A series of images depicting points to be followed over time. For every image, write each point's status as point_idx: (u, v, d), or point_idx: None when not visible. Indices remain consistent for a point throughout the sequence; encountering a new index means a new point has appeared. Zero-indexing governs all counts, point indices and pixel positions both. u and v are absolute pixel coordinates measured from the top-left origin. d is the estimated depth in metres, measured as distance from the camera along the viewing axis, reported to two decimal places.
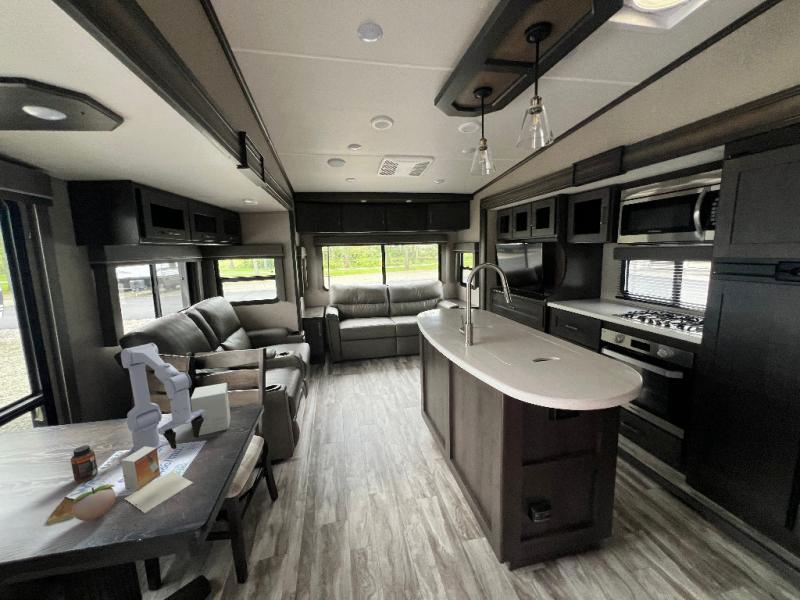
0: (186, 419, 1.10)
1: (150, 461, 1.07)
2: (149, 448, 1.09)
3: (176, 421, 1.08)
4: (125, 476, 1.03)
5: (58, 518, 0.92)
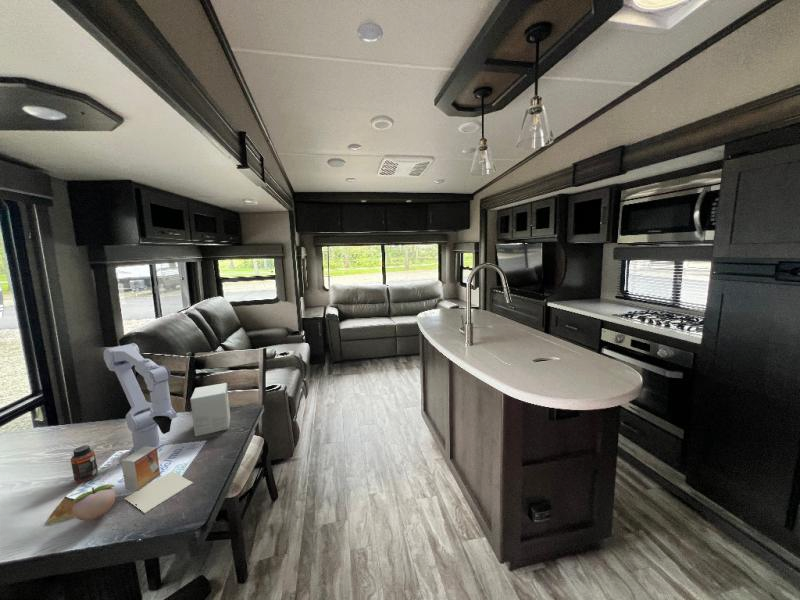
0: (153, 412, 1.15)
1: (150, 461, 1.07)
2: (149, 448, 1.09)
3: None
4: (125, 476, 1.03)
5: (58, 518, 0.92)
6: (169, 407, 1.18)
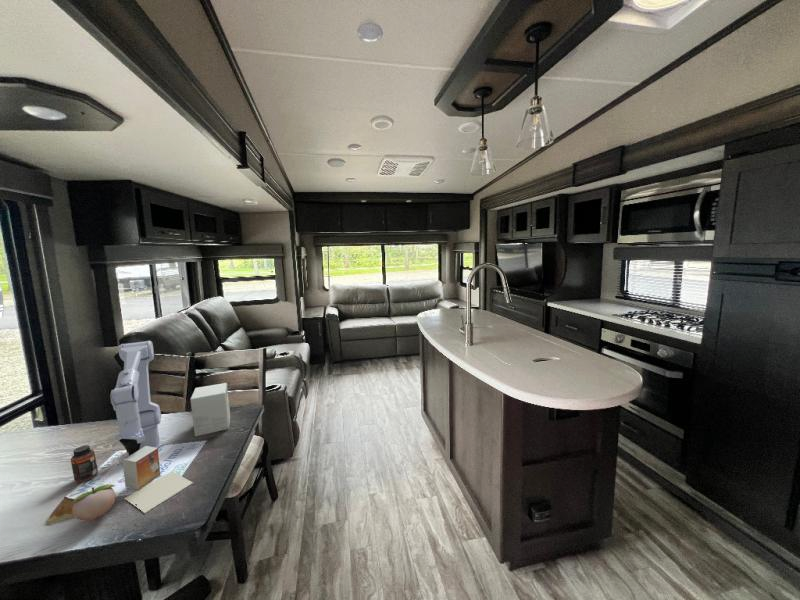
0: (120, 434, 1.04)
1: (151, 461, 1.07)
2: (150, 448, 1.09)
3: None
4: (126, 475, 1.03)
5: (58, 518, 0.91)
6: (138, 429, 1.06)
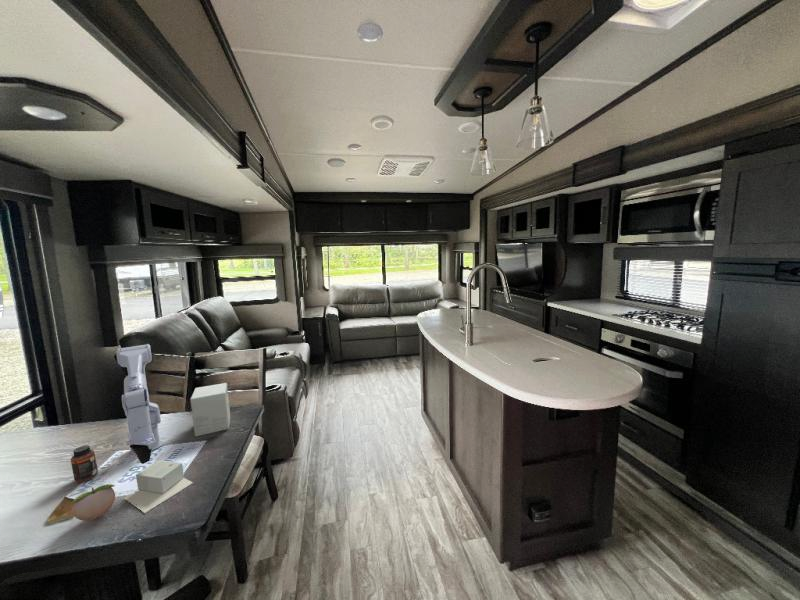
0: (130, 439, 1.01)
1: None
2: (181, 473, 1.07)
3: None
4: (146, 479, 1.01)
5: (58, 518, 0.91)
6: (149, 434, 1.03)
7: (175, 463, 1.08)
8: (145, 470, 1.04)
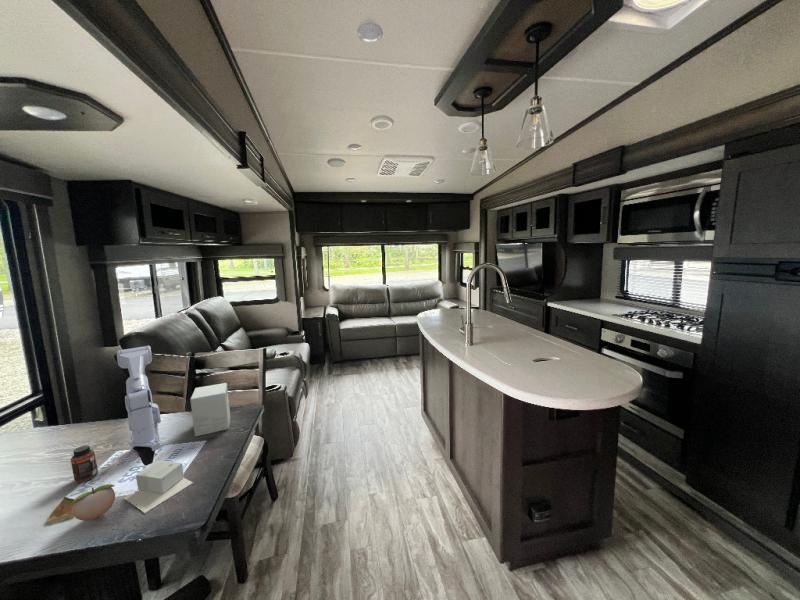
0: (134, 441, 1.00)
1: None
2: (181, 473, 1.07)
3: None
4: (146, 479, 1.01)
5: (58, 518, 0.91)
6: (152, 436, 1.02)
7: (175, 463, 1.07)
8: (144, 470, 1.04)
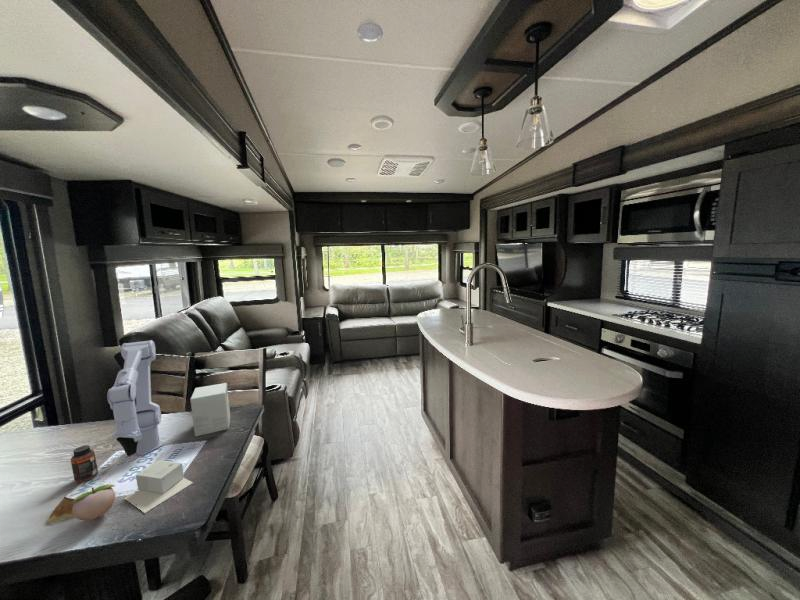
0: (117, 433, 1.05)
1: None
2: (181, 473, 1.07)
3: None
4: (146, 479, 1.01)
5: (58, 518, 0.91)
6: (135, 427, 1.07)
7: (175, 463, 1.07)
8: (144, 470, 1.04)
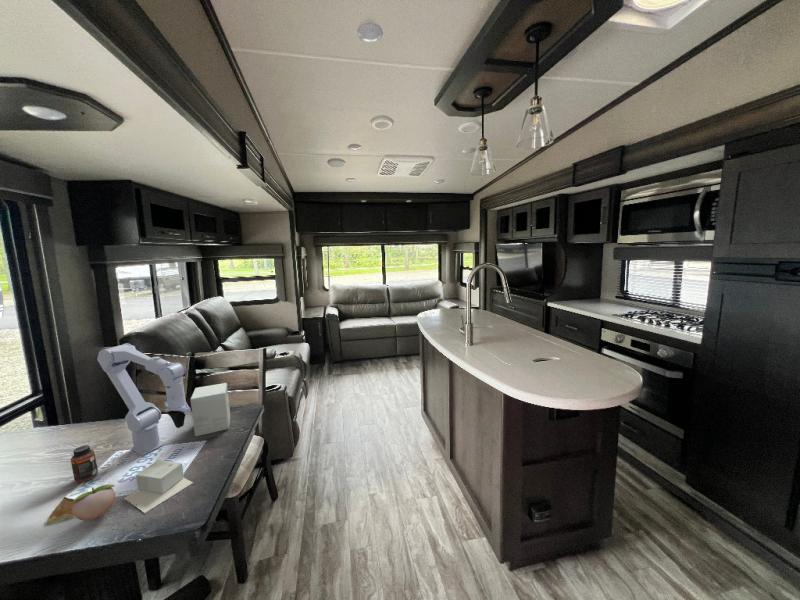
0: (168, 406, 1.19)
1: None
2: (181, 473, 1.07)
3: None
4: (146, 479, 1.01)
5: (58, 518, 0.91)
6: (183, 402, 1.21)
7: (175, 463, 1.07)
8: (144, 470, 1.04)
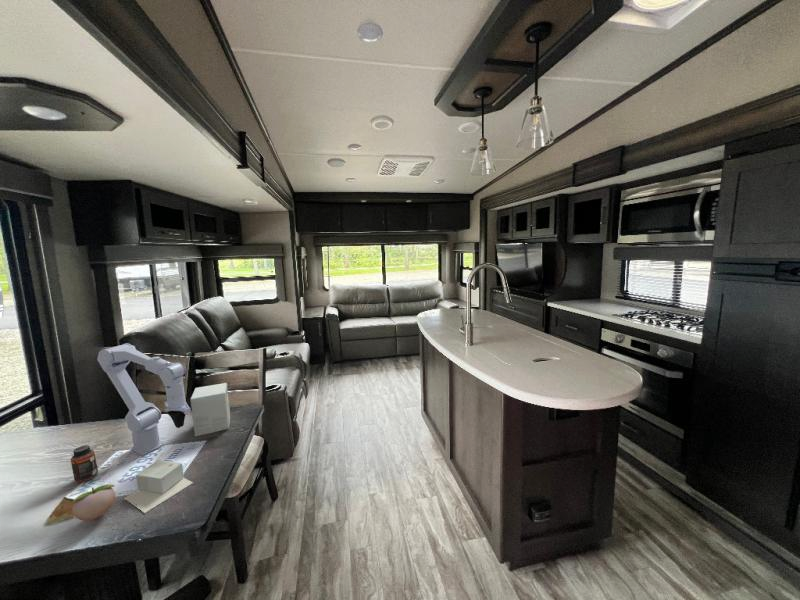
0: (168, 406, 1.19)
1: None
2: (181, 473, 1.07)
3: None
4: (146, 479, 1.01)
5: (58, 518, 0.91)
6: (183, 402, 1.21)
7: (175, 463, 1.07)
8: (144, 470, 1.04)
